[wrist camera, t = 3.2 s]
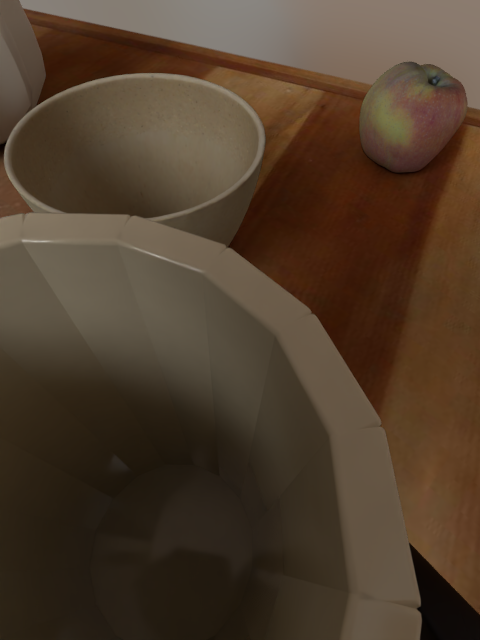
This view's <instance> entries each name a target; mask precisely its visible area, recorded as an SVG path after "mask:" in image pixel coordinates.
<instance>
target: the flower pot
mask: <svg viewBox="0 0 480 640" xmlns="http://www.w3.org/2000/svg"><path fill="white" fill-rule="evenodd" d="M264 149H265V130H264V127H263V124H262V122H261V119H260V118H259V116H258V115H257V113H256V112H255V110H254V109H253V108H252V107H251V106H250V105H249V104H248V103H247V102H246V101H245V100H243V99H242V98H241V97H240V96H238V95H237V94H235V93H233V92H231V91H230V90H228V89H226V88H224V87H221V86H219V85H217V84H214V83H211V82H208V81H206V80H202V79H198V78H193V77H189V76H183V75H176V74H164V73H138V74H125V75H118V76H111V77H106V78H101V79H97V80H93V81H90V82H86V83H83V84H80V85H77V86H75V87H72V88H70V89H67V90H65V91H63V92H60V93H58V94H56V95H54V96H52V97H51V98H49V99H47V100H45V101H44V102H42V103H41V104H39V105H38V106H36V107H35V108H33V109H32V110H31V111H29V112H28V113H27V114H26V115H25V116H24V117H23V118H22V119H21V120H20V121H19V122H18V123H17V125H16V126H15V127H14V129H13V130H12V132H11V134H10V136H9V138H8V140H7V143H6V146H5V151H4V165H5V169H6V173H7V175H8V177H9V179H10V181H11V182H12V184H13V185H14V187H15V188H16V189H17V191H18V192H19V193H20V195H21V196H22V197H23V199H24V200H25V201H26V203H27V204H28V205H29V206H30V208H31V209H32V210H33V211H34V212H39V213H85V214H127V215H130V216H134V215H136V216H139V217H142V218H145V219H148V220H151V221H154V222H157V223H160V224H163V225H166V226H170V227H173V228H176V229H179V230H182V231H185V232H188V233H191V234H194V235H197V236H200V237H203V238H206V239H209V240H212V241H216V242H219V243H222V244H224V245H226V247H228V246H229V244H230V243H231V241H232V239H233V238H234V236H235V234H236V233H237V231H238V229H239V227H240V225H241V223H242V221H243V218H244V216H245V214H246V212H247V209H248V207H249V204H250V202H251V199H252V196H253V193H254V190H255V187H256V184H257V181H258V177H259V173H260V169H261V165H262V160H263V155H264Z"/></svg>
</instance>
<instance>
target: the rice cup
mask: <svg viewBox="0 0 480 640" xmlns="http://www.w3.org/2000/svg"><path fill="white" fill-rule="evenodd" d="M380 426H381V420H380V418H379V416H378V414H377V413H376V411H375V410H374V408H373V406H372V405H371V403H370V402H369V400H368V398H367V397H366V395H365V394H364V392H363V390H362V389H361V387H360V386H359V384H358V382H357V381H356V379H355V377H354V376H353V374H352V373H351V371H350V369H349V368H348V366H347V365H346V363H345V361H344V360H343V358H342V357H341V355H340V353H339V352H338V350H337V349H336V347H335V345H334V344H333V342H332V340H331V339H330V337H329V336H328V334H327V332H326V331H325V329H324V328H323V326H322V324H321V323H320V321H319V320H318V318H317V316H316V315H314V314H312V313H311V310H310V309H309V308H308V307H307V306H306V305H304V304H303V303H302V302H300V301H299V300H298V299H296V298H295V297H294V296H293V295H291V294H290V293H289V292H287V291H286V290H285V289H283V288H282V287H281V286H280V285H278V284H277V283H276V282H274V281H273V280H272V279H270V278H269V277H268V276H266V275H265V274H264V273H263V272H261V271H260V270H259V269H257V268H256V267H255V266H253V265H252V264H251V263H250V262H248V261H247V260H246V259H244V258H243V257H242V256H240V255H239V254H238V253H236V252H235V251H234V250H233V249H231V248H227V247H226V245H224V244H222V243H219V242H216V241H212V240H209V239H206V238H203V237H200V236H197V235H194V234H191V233H188V232H185V231H182V230H179V229H176V228H173V227H170V226H166V225H163V224H160V223H157V222H154V221H151V220H148V219H145V218H142V217H139V216H136V215H134V216H130V215H127V214H85V213H39V212H30V213H28V214H26V215H25V214H23V213H20V214H16V215H12V216H7V217H3V218H0V640H420V633H421V624H422V618H421V613H420V612H419V611H418V610H417V608H419V607H420V604H421V599H420V594H419V589H418V584H417V580H416V575H415V570H414V565H413V561H412V556H411V551H410V546H409V541H408V537H407V532H406V527H405V522H404V518H403V513H402V508H401V503H400V499H399V494H398V489H397V484H396V480H395V475H394V470H393V465H392V461H391V456H390V451H389V446H388V442H387V437H386V432H385V430H384V428H382V427H380Z"/></svg>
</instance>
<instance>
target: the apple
mask: <svg viewBox="0 0 480 640" xmlns="http://www.w3.org/2000/svg"><path fill="white" fill-rule="evenodd" d="M466 112H467V98H466V93H465V89H464V87H463V85H462V84H461V82H459V81H458V80H457V79H455V78H453V77H452V76H450V75H449V74H448V73H446V72H445V71H443V70H442V69H440V68H439V67H436V66H434V65H431V64H426V65H419V64H417V63H414V62H404V63H400V64H398V65H396V66H394V67H392V68H391V69H389V70H388V71H386V72H385V73H384V74H383V75H381V76H380V77H379V79H377V81H376V82H375V83H374V84H373V86H372V87H371V88H370V90H369V91H368V93H367V94H366V96H365V98H364V101H363V104H362V107H361V112H360V139H361V145H362V148H363V150H364V152H365V154H366V155H367V157H368V158H370V159H371V160H373V161H374V162H375V163H377V164H379V165H381V166H383V167H385V168H386V169H388V170H389V171H391V172H396V173H401V172H416V171H418V170H420V169H422V168H423V167H425V166H426V165H427V164H428V163H429V162H430V161H431V160H432V159H433V158H434V157H435V156H436V155H437V154H438V153H439V152H440V151H441V150H442V149H443V148H444V147H445V145H446V144H447V143H448V141H449V140H450V139H451V138H452V136H453V135H454V133H455V132H456V131H457V129H458V128H459V127H460V125H461V123H462V122H463V120H464V118H465V115H466Z"/></svg>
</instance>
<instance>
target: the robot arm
mask: <svg viewBox="0 0 480 640" xmlns="http://www.w3.org/2000/svg"><path fill="white" fill-rule="evenodd" d="M409 546H410V551H411V556H412V561H413V565H414V570H415V575H416V580H417V584H418V589H419V594H420V599H421V604H420V607H419V608H417V610H418V611H419V612H420V613H421V618H422V624H421V633H420V640H480V615H479V614H478V613H477V612H476V611H475V610H474V609H473V608H472V607H471V605H470V604H469V603H468V602H467V601H466V600H465V599H464V598H463V597H462V596H461V595H460V594H459V593H458V592H457V591H456V590H455V589H454V588H453V587H452V586H451V585H450V584H449V583H448V582H447V581H446V580H445V579H444V578H443V577H442V576H441V575H440V574H439V573H438V572H437V571H436V570H435V569H434V568H433V567H432V566H431V565H430V563H429V562H428V561H427V560H426V559H425V558H424V557H423V556H422V555H421V554H420V553H419V552H418V551H417V550H416V549H415V548H414V547H413V546H412V545H411V544H410V543H409Z"/></svg>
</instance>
